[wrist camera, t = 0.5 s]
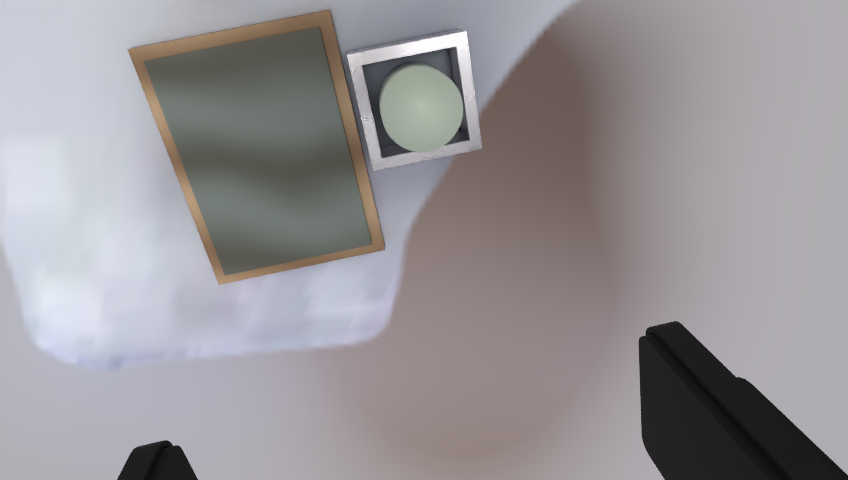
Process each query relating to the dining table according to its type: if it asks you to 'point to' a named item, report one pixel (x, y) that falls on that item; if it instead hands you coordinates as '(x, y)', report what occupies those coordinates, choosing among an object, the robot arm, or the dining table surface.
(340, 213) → the slate board
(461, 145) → the button housing
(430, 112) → the button cap
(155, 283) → the dining table surface
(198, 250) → the dining table surface
